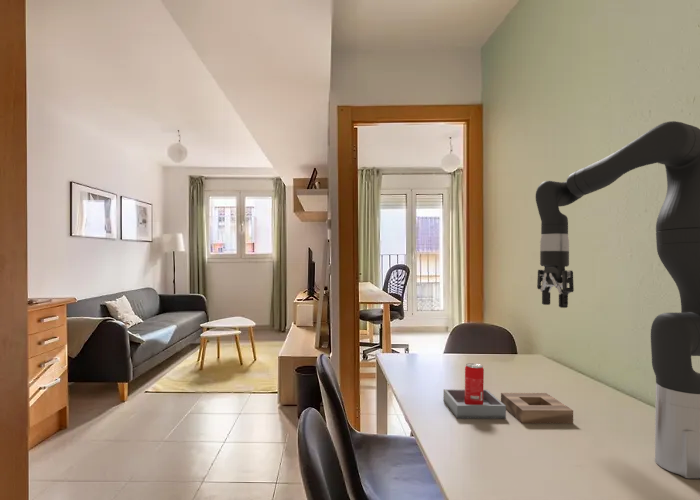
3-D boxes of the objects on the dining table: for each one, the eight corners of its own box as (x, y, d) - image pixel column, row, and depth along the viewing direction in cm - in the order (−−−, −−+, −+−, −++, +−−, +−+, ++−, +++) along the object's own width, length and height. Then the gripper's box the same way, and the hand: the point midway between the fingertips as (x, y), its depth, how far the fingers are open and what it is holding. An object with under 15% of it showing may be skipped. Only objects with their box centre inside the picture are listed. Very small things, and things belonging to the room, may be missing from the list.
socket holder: (573, 423, 111) (573, 410, 111) (522, 423, 110) (522, 410, 110) (545, 404, 125) (546, 392, 125) (500, 404, 124) (501, 392, 124)
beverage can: (462, 407, 118) (463, 366, 118) (466, 402, 123) (467, 362, 123) (481, 411, 116) (481, 368, 116) (484, 405, 120) (485, 364, 120)
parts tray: (505, 418, 113) (505, 405, 113) (457, 418, 112) (457, 405, 113) (486, 400, 127) (487, 389, 127) (443, 400, 126) (443, 389, 126)
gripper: (582, 249, 112) (582, 309, 112) (552, 251, 127) (552, 303, 126) (556, 249, 112) (556, 308, 111) (529, 250, 126) (529, 303, 125)
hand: (554, 306), depth 119 cm, fingers open, 8 cm apart
